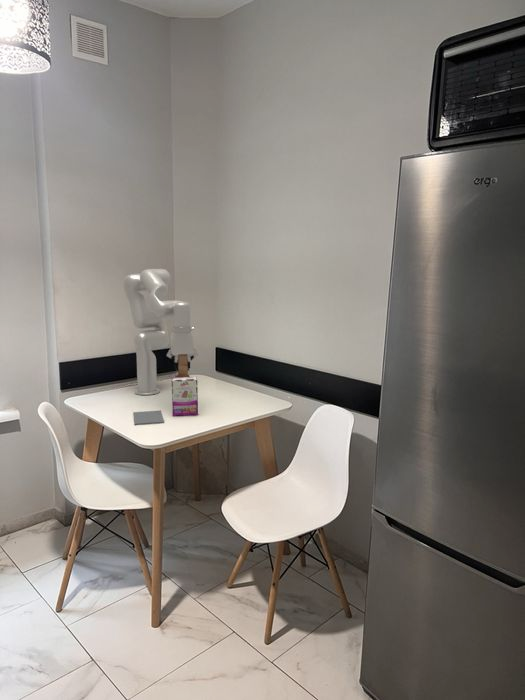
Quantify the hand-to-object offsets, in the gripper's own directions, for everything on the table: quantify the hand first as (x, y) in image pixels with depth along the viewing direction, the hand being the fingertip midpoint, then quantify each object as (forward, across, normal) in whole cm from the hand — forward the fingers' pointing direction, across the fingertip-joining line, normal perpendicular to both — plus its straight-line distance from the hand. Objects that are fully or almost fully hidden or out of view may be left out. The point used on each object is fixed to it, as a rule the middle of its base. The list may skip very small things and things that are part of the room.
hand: (182, 370), depth 229 cm
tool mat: (+18, +16, +9) cm, 26 cm away
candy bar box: (+19, 0, +7) cm, 20 cm away
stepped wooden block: (+4, 0, 0) cm, 4 cm away
